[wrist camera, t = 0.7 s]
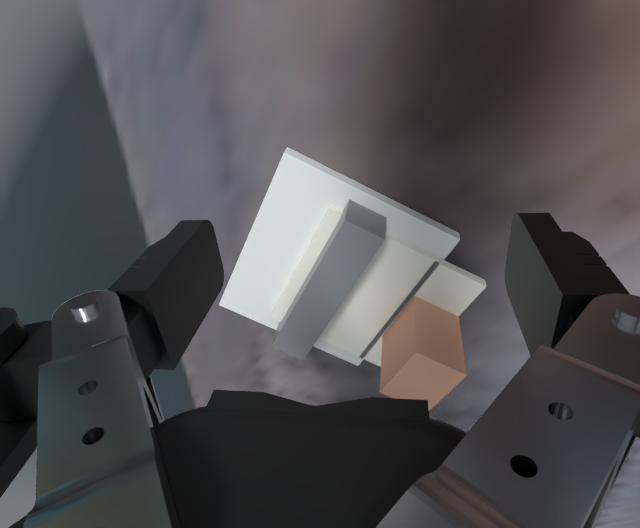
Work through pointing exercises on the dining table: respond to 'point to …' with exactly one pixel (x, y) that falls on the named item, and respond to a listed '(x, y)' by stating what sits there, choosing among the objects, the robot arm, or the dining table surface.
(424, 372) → the tan block on plate
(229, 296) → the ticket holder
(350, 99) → the dining table surface
